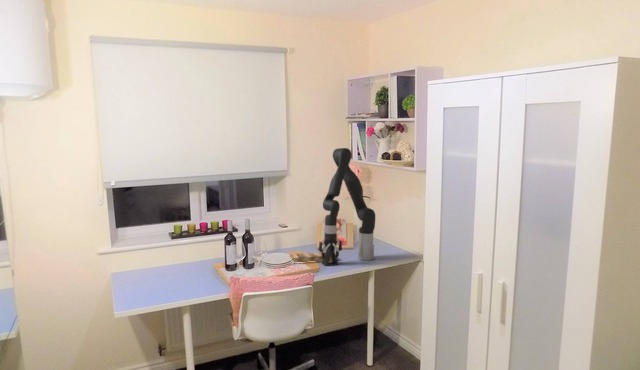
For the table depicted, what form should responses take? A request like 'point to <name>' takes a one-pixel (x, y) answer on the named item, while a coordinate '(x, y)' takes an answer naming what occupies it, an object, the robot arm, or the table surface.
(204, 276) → the table surface
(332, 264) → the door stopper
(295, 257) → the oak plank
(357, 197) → the robot arm
